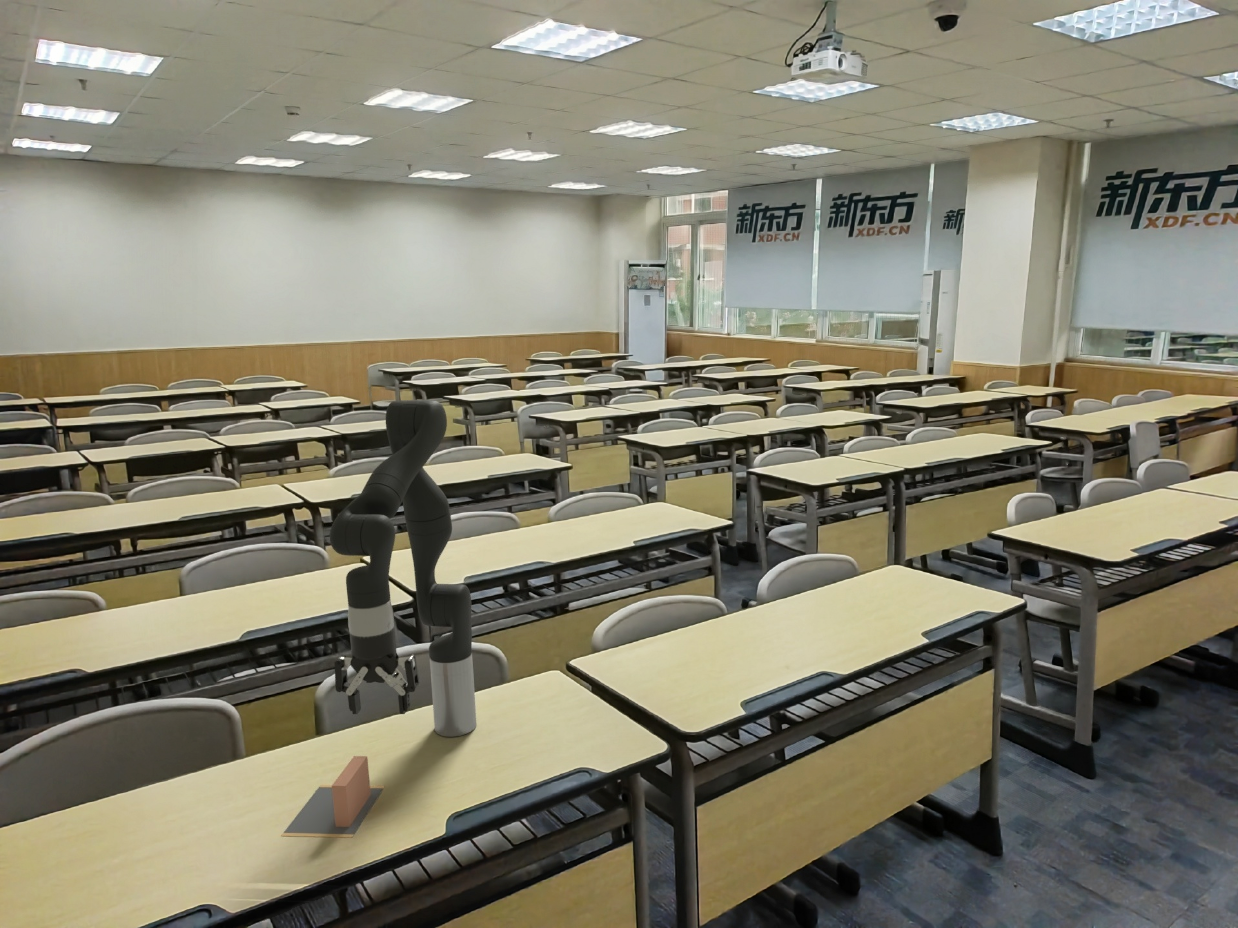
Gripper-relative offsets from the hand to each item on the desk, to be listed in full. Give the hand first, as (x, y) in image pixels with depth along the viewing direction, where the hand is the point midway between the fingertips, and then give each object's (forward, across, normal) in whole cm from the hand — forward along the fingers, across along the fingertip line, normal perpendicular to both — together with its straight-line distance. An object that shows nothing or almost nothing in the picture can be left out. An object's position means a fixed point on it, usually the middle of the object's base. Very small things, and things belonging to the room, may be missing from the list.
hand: (380, 712), depth 145 cm
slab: (+21, +8, -2) cm, 22 cm away
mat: (+21, +11, -2) cm, 24 cm away
